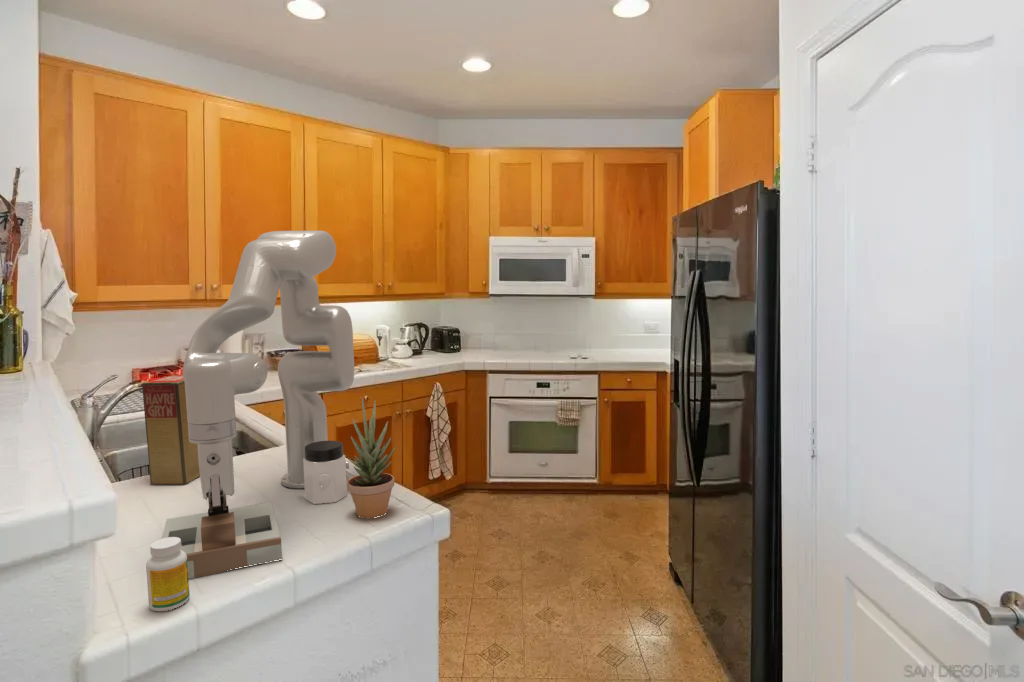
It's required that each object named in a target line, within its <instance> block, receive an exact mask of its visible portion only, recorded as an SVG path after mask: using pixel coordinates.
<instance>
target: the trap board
mask: <svg viewBox="0 0 1024 682" xmlns="http://www.w3.org/2000/svg"><path fill="white" fill-rule="evenodd" d="M274 508H275V507H274V504H273V501H270V502H264V503H260V504H259V503H258V504H252V505H251V504H250V505H246V506H240V507H234V508H233V507H231V508H228V510H229V513H230V512H234V522H235V538H236V545H232V546H227V547H221V548H216V549H210V550H205V551H202V539H201V521H202V517H205V516H208V511H207V512H201V513H196V514H189V515H183V516H177V517H176V516H175V517H170V518H169V517H168V518H166V519H165V523H164V528H163V531H162V535H161V539H163V538H168V537H178V538H180V539H181V545H182V547H181V549H180V550H182V551H184V552H185V553H186V555H187V563H188V580H191V579H190V578H192V579H196V577H197V578H200V577H201V576H202V577H205V576H206V575H207V576H211V574H212V575H215V574H214V573H217V574H220V573H219V572H222V573H224V572H223V571H227V570H230V569H235V568H239V567H244V566H249V565H254V564H259V563H265V562H270V561H274V560H279V559H282V560H283V552H282V537H281V536H280V532H279V527H278V522H277V518H276V513H275V509H274ZM227 572H228V571H227Z"/></svg>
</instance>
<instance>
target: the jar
mask: <svg viewBox="0 0 1024 682" xmlns="http://www.w3.org/2000/svg"><path fill="white" fill-rule="evenodd" d="M345 461H346V455H345V454H344V445H343V443H342V442H341V441H337V440H328V441H319V442H314V443H311V444H308V445H306V446H305V458H304V459H303V465H304V485H305V488H304V498H305V500H307V501H308V502H310V503H311V504H312V505H313V504H314V505H323V503H324V504H332V503H333V504H335V503H337V502H338V501H340V500H342V499H343V498H344V497H346V496H347V495H348V489H347V469H346V462H345ZM334 502H335V503H334Z"/></svg>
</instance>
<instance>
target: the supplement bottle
mask: <svg viewBox="0 0 1024 682" xmlns="http://www.w3.org/2000/svg"><path fill="white" fill-rule="evenodd" d="M181 547H182V545H181V539H180V538H178V537H168V538H163V539H162V538H160V539H158V540H155V541H153V542H152V543H151V544H150V546H149V548H150V555H151V556H150V557H149V558H148V559H147V561H146V564H145V565H146V567H145V569H146V580H147V581H146V582H147V583H146V584H147V594H148V596H147V597H148V599H147V600H148V604H149V605H148V606H149V609H151V611H154V612H169V611H173V610H175V609H174V608H176V609H178V608H180V607H182V606H183V604H184V603H185V604H186V603H187V602H188V601H189V599H190V596H191V594H190V583H189V582H190V581H189V580H190V579H188V563H187V555H186V553H185V552H184V551H182V550H180V549H181ZM185 604H184V605H185ZM181 605H182V606H181ZM179 606H180V607H179ZM177 607H178V608H177ZM172 609H173V610H172ZM168 610H169V611H168Z"/></svg>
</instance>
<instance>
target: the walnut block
mask: <svg viewBox="0 0 1024 682" xmlns="http://www.w3.org/2000/svg"><path fill="white" fill-rule="evenodd" d="M201 539H202V551H205V550H210V549H216V548H221V547H227V546H232V545H236V538H235V522H234V512H230V513H224V514H218V515H211V516H205V517H202V521H201Z"/></svg>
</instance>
